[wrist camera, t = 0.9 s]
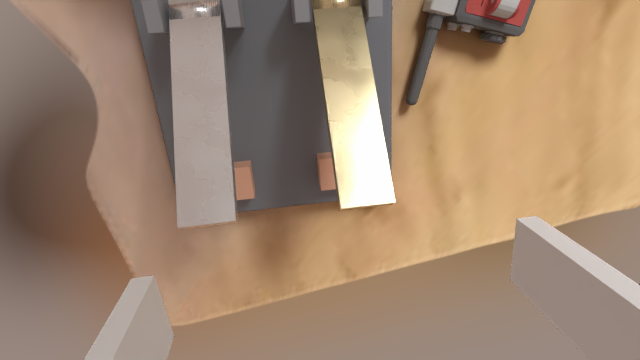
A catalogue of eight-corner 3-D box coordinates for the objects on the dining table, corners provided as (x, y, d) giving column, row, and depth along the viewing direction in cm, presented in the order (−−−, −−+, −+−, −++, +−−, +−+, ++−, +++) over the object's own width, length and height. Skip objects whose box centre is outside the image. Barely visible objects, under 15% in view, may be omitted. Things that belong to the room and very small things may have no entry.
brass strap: (310, 2, 28) (310, -13, 26) (355, -1, 28) (358, -17, 26) (338, 211, 24) (341, 207, 23) (390, 205, 24) (396, 201, 23)
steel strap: (174, 11, 27) (167, -4, 25) (222, 8, 27) (218, -7, 26) (183, 229, 23) (175, 227, 22) (239, 223, 24) (235, 220, 22)
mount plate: (134, -20, 29) (101, -33, 23) (384, -35, 30) (409, -51, 25) (187, 209, 36) (172, 240, 31) (385, 186, 38) (404, 213, 32)
